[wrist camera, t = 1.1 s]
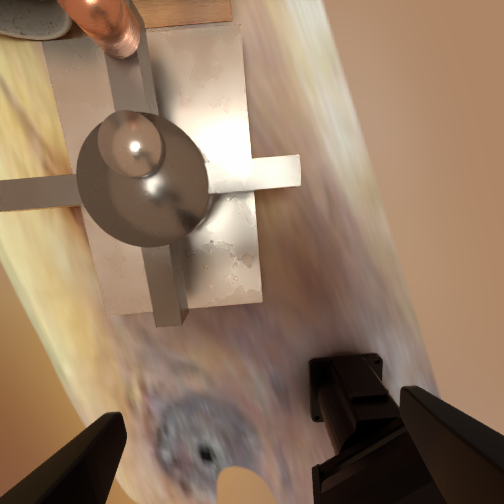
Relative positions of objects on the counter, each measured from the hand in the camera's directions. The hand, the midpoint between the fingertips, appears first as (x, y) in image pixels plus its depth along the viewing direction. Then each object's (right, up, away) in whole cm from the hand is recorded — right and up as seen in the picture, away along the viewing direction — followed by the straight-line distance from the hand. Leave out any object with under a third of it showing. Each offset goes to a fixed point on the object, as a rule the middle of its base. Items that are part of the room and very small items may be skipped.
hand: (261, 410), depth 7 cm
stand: (-7, +12, +10) cm, 17 cm away
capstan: (-6, +9, +8) cm, 13 cm away
